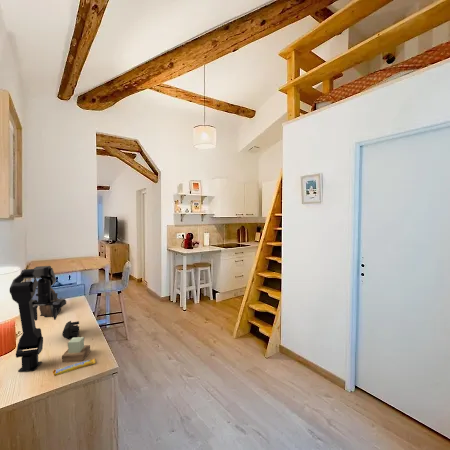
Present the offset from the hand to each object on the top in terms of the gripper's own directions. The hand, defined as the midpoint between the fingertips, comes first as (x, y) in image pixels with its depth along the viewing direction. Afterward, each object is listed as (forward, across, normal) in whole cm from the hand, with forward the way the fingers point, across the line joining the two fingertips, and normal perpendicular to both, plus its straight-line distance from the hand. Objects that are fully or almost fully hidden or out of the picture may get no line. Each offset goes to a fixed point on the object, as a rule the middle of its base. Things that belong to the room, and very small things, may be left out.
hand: (45, 319), depth 139 cm
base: (+12, -21, +14) cm, 28 cm away
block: (+9, -21, +14) cm, 27 cm away
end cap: (+13, -8, -9) cm, 18 cm away
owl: (+14, +21, -43) cm, 50 cm away
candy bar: (+13, -25, +24) cm, 37 cm away
